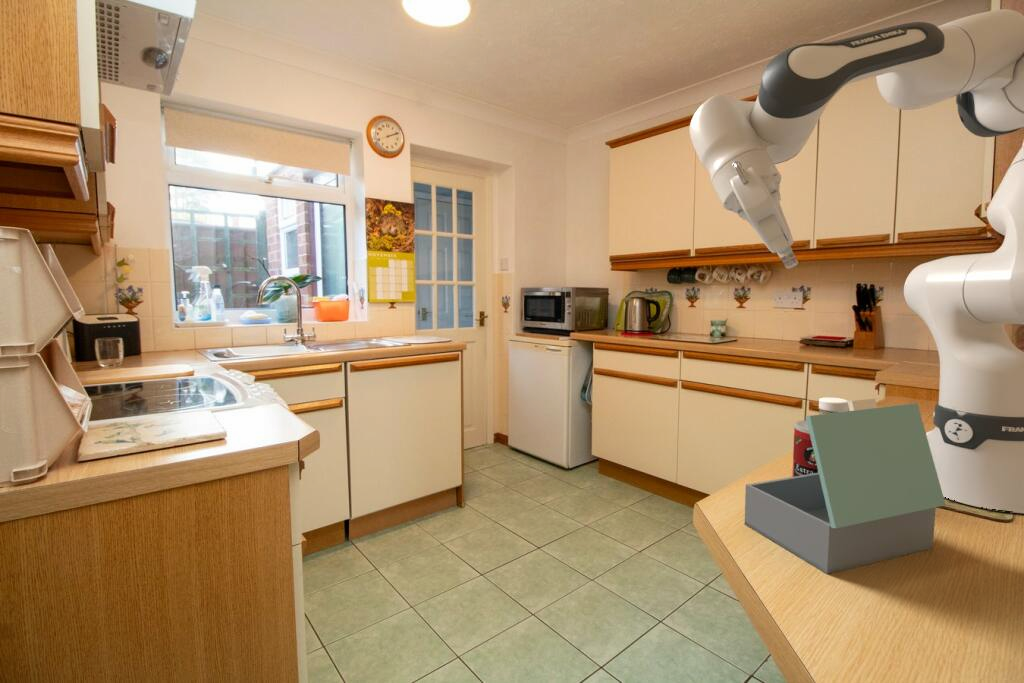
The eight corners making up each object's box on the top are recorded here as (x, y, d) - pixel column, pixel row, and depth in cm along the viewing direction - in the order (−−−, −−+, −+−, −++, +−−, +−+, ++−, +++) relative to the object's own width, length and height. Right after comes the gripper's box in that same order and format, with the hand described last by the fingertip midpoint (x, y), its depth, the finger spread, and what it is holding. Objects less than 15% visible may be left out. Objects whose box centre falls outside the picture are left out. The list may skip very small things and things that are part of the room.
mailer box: (838, 506, 74) (840, 469, 74) (932, 548, 62) (935, 503, 61) (744, 524, 69) (745, 484, 68) (827, 574, 57) (829, 526, 56)
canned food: (786, 489, 81) (788, 426, 80) (799, 476, 86) (802, 417, 85) (839, 503, 75) (843, 435, 74) (850, 488, 81) (854, 425, 80)
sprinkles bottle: (849, 470, 89) (853, 399, 87) (838, 475, 86) (842, 403, 85) (822, 463, 93) (826, 395, 91) (811, 468, 90) (814, 398, 89)
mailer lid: (910, 394, 64) (914, 394, 63) (940, 504, 61) (945, 505, 60) (803, 406, 58) (807, 405, 58) (831, 527, 56) (835, 528, 55)
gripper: (754, 142, 65) (801, 224, 61) (778, 195, 81) (817, 264, 77) (709, 170, 69) (751, 250, 64) (742, 216, 85) (777, 282, 80)
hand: (787, 258), depth 70 cm, fingers open, 8 cm apart
